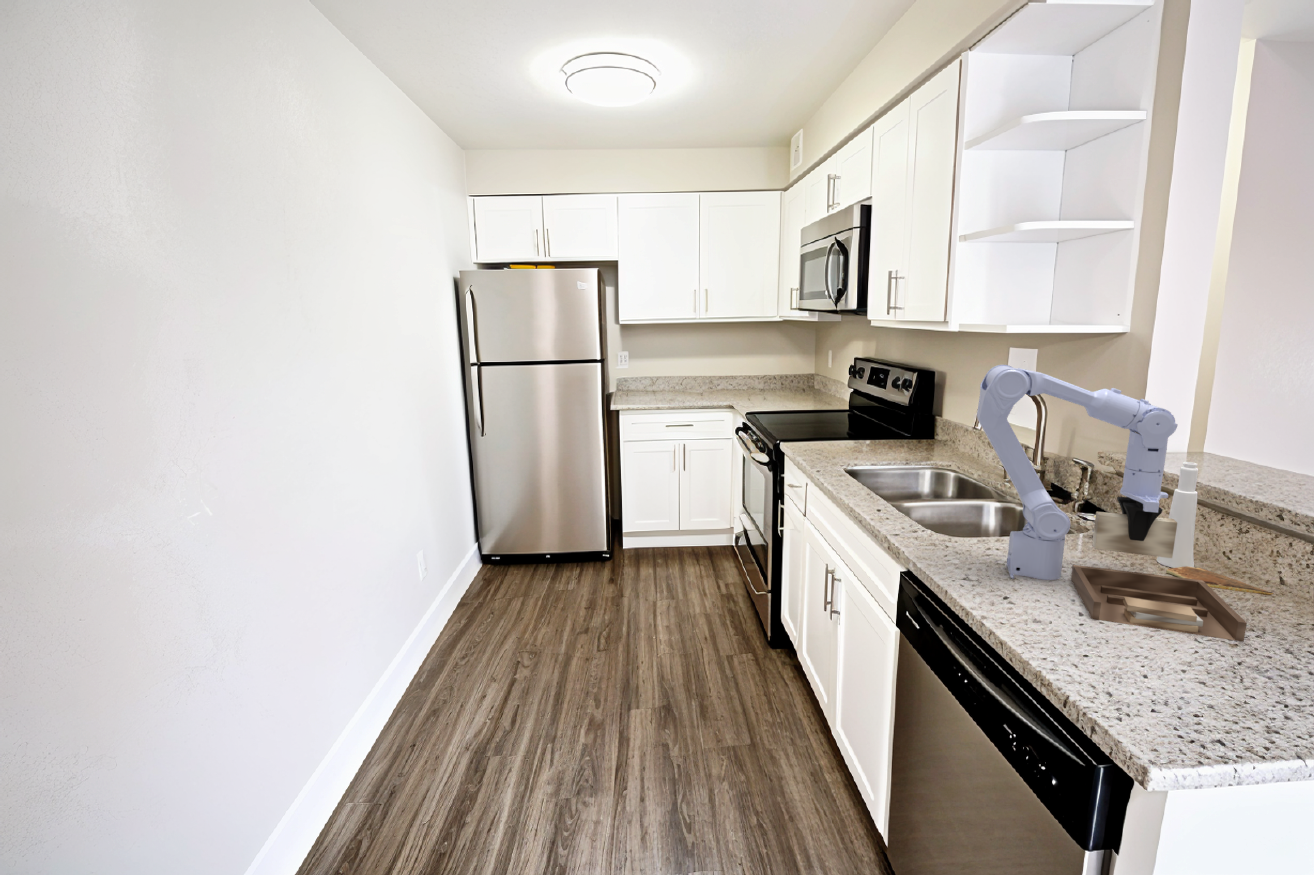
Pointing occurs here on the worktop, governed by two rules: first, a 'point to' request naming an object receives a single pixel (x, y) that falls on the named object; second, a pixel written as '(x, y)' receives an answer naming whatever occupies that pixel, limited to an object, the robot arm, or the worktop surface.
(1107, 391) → the robot arm
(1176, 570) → the shard
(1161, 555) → the birch sheet
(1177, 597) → the rack
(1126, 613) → the offcut bottom
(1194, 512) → the cosmetic bottle
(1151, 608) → the offcut top
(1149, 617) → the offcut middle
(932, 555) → the worktop surface
